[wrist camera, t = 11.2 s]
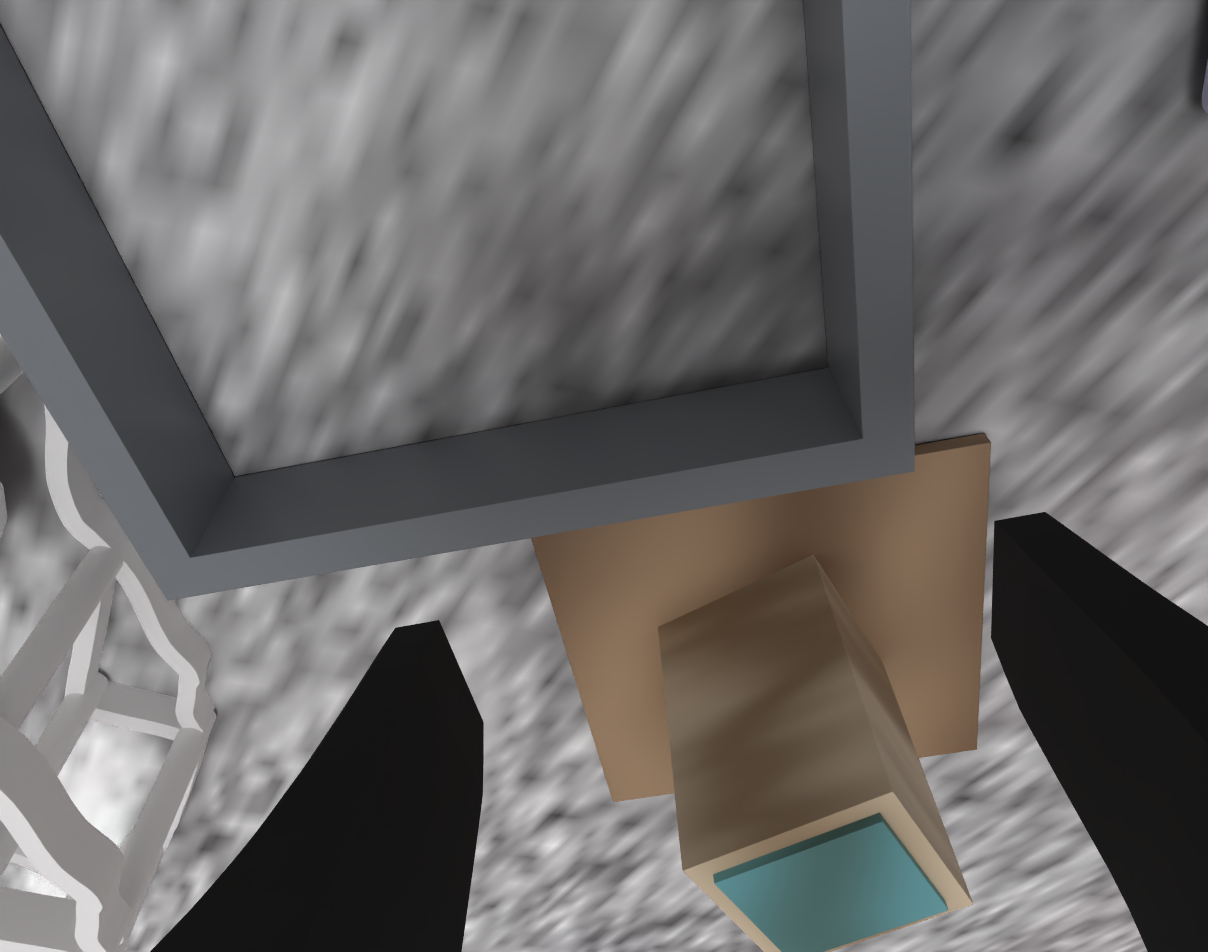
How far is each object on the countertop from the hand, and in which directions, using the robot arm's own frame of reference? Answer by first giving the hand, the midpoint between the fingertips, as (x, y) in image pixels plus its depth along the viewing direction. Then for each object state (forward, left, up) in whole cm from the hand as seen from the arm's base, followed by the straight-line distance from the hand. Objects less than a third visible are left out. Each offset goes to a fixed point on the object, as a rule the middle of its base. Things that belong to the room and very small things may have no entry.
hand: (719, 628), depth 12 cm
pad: (-1, +10, -9) cm, 14 cm away
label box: (-1, +10, -9) cm, 13 cm away
